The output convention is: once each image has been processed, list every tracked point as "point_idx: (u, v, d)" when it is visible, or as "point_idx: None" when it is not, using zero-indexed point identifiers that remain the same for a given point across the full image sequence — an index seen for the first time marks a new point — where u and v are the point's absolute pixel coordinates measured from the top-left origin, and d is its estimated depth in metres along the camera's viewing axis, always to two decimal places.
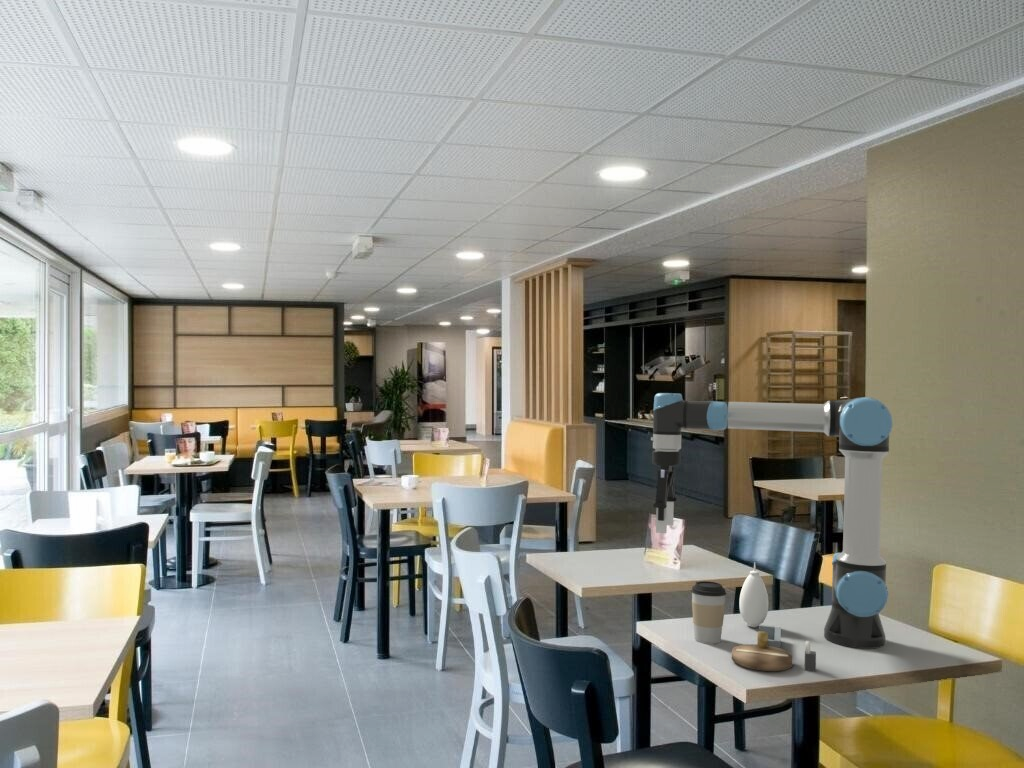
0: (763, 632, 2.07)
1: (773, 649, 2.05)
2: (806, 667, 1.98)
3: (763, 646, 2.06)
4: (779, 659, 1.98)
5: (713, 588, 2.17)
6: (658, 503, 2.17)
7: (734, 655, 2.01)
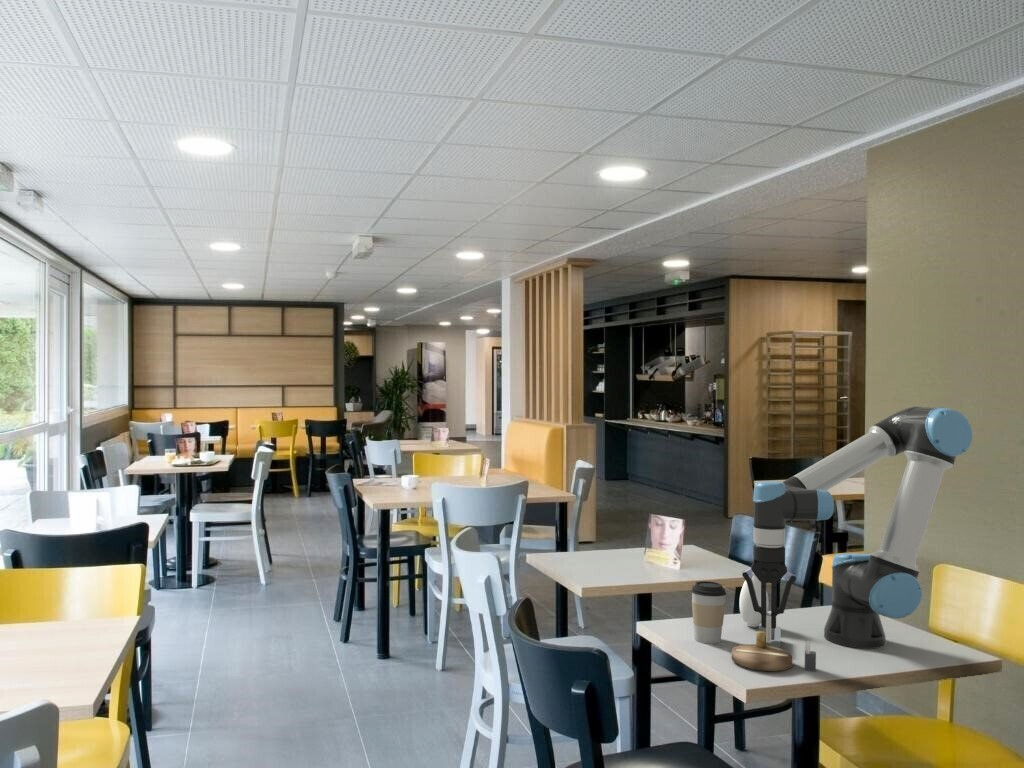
0: (762, 632, 2.07)
1: (772, 649, 2.05)
2: (806, 667, 1.98)
3: (762, 646, 2.06)
4: (780, 658, 1.98)
5: (713, 588, 2.17)
6: None
7: (735, 656, 2.00)
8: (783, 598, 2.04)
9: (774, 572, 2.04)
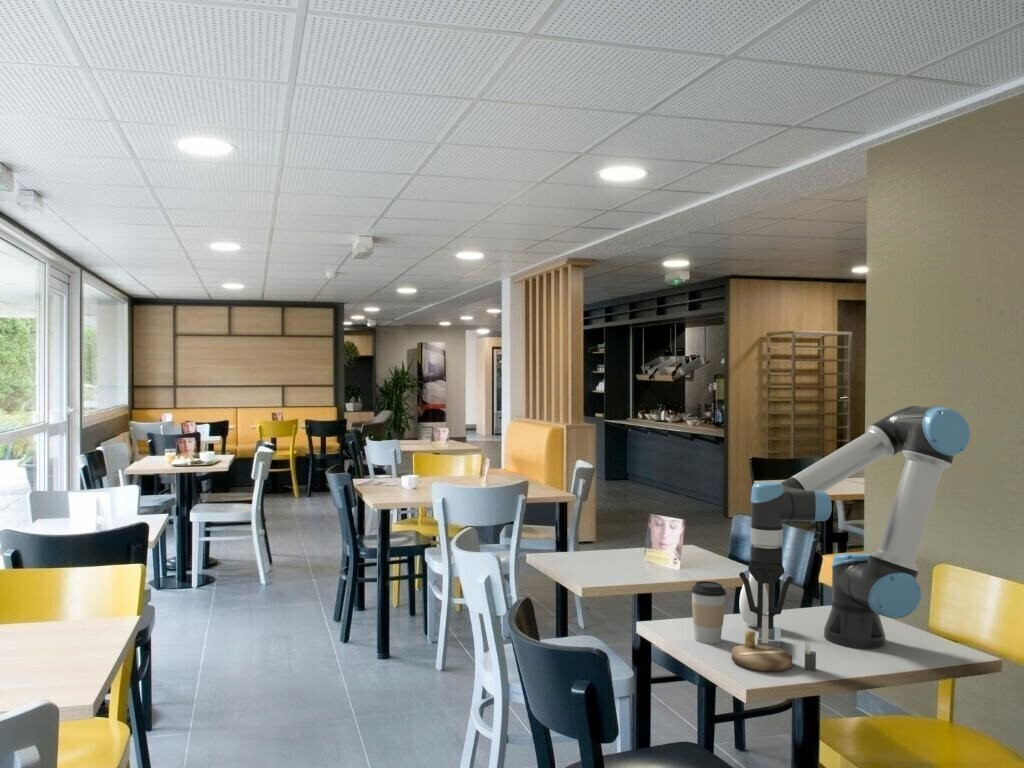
0: (750, 631, 2.07)
1: (762, 647, 2.06)
2: (806, 667, 1.98)
3: (753, 645, 2.06)
4: (783, 656, 2.00)
5: (713, 588, 2.17)
6: None
7: (745, 660, 1.97)
8: (780, 599, 2.04)
9: (771, 573, 2.04)
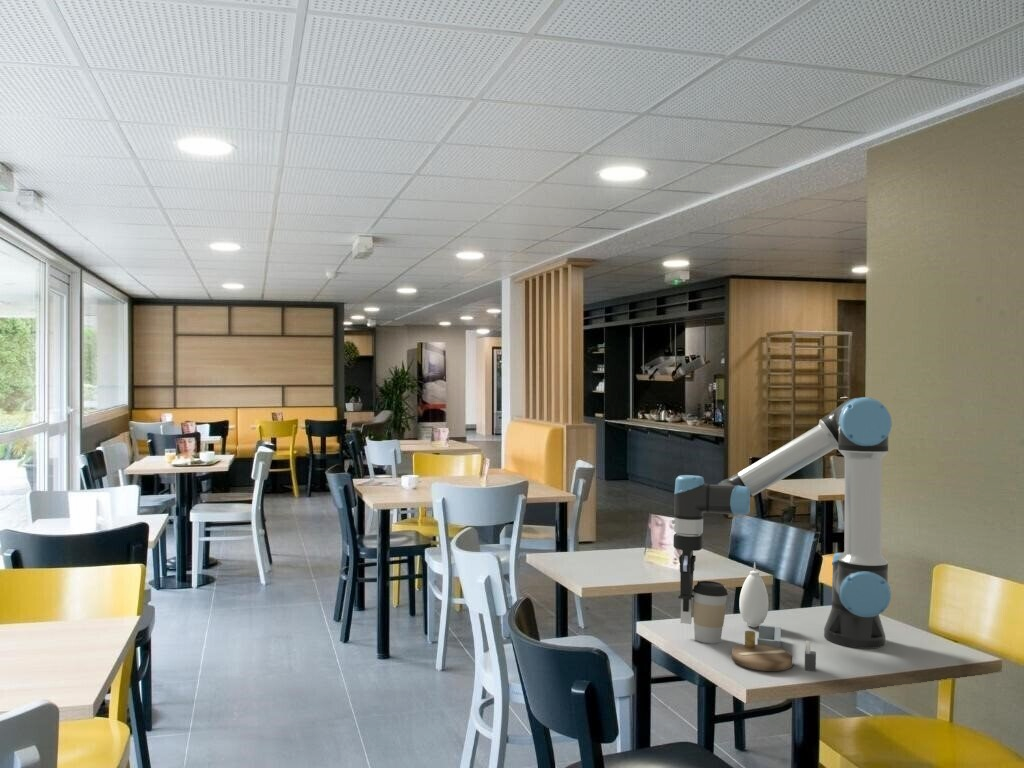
0: (750, 631, 2.07)
1: (762, 647, 2.06)
2: (806, 667, 1.98)
3: (753, 645, 2.06)
4: (783, 656, 2.00)
5: (715, 588, 2.17)
6: (683, 595, 2.19)
7: (745, 660, 1.97)
8: (692, 579, 2.25)
9: (695, 557, 2.23)
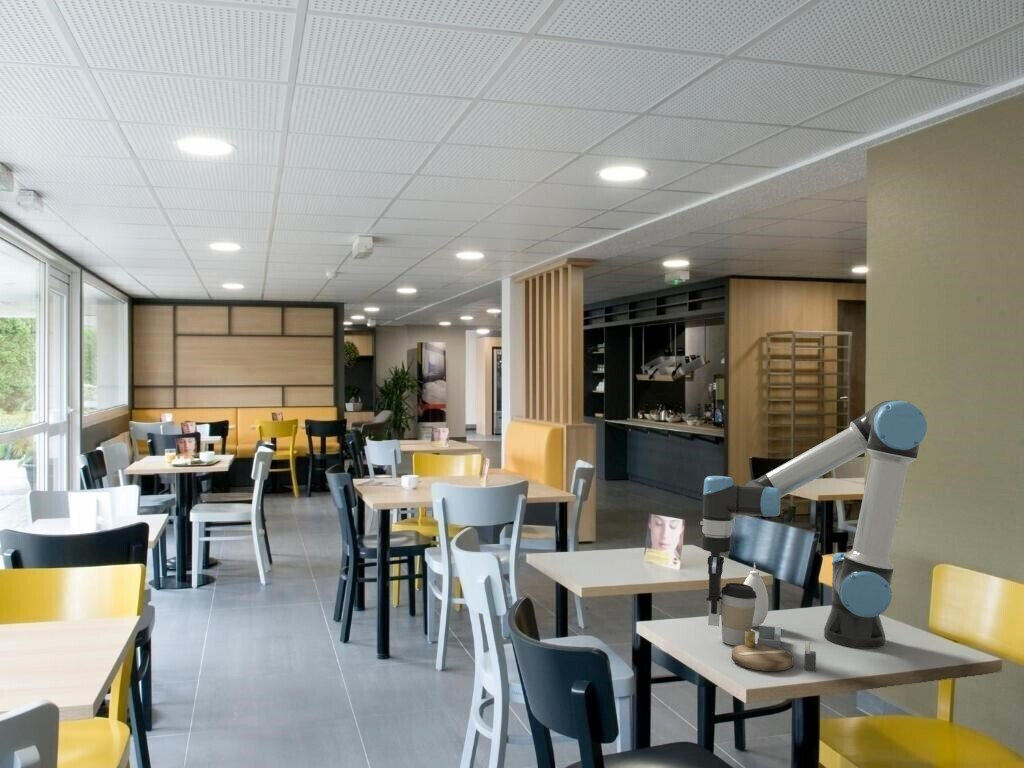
0: (750, 631, 2.07)
1: (762, 647, 2.06)
2: (806, 667, 1.98)
3: (753, 645, 2.06)
4: (783, 656, 2.00)
5: (745, 590, 2.15)
6: (711, 597, 2.17)
7: (745, 660, 1.97)
8: (720, 580, 2.23)
9: (723, 559, 2.21)
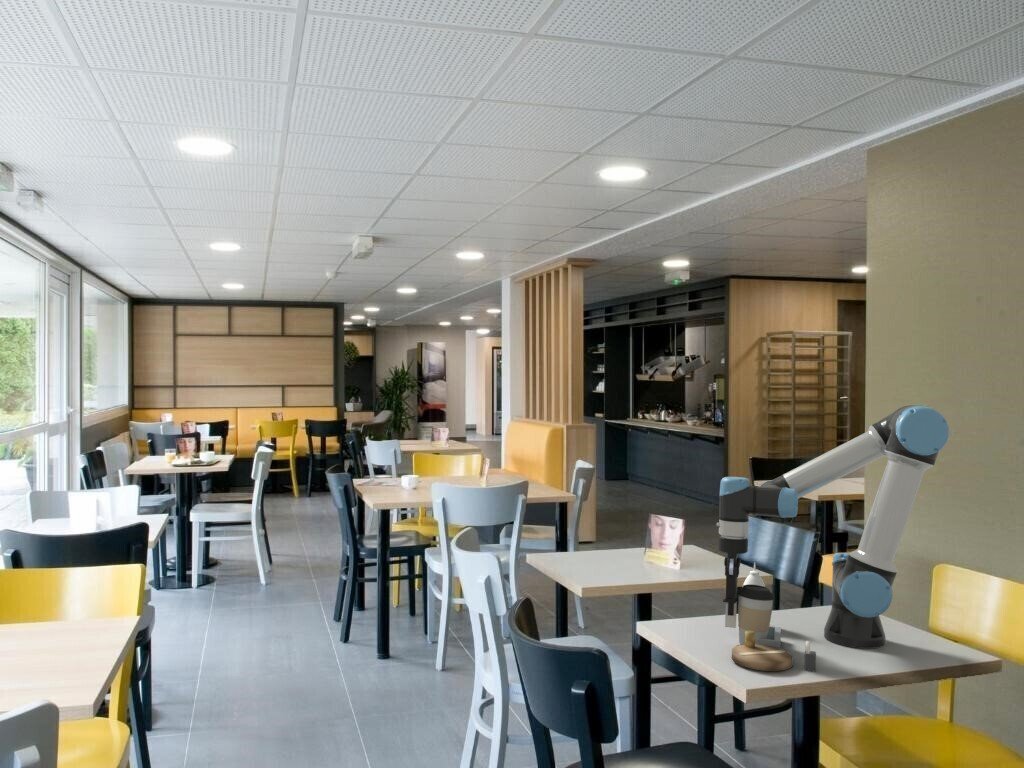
0: (750, 631, 2.07)
1: (762, 647, 2.06)
2: (806, 667, 1.98)
3: (753, 645, 2.06)
4: (783, 656, 2.00)
5: (762, 592, 2.14)
6: (728, 598, 2.15)
7: (745, 660, 1.97)
8: None
9: (740, 560, 2.19)
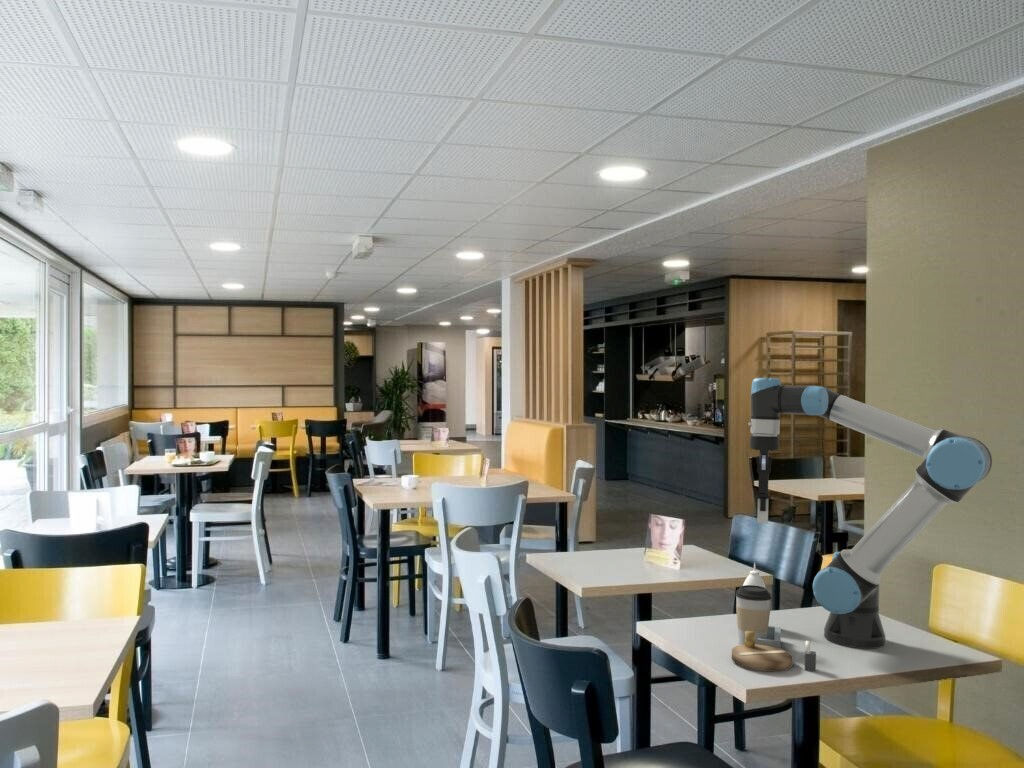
0: (750, 631, 2.07)
1: (762, 647, 2.06)
2: (806, 667, 1.98)
3: (753, 645, 2.06)
4: (783, 656, 2.00)
5: (759, 592, 2.14)
6: (761, 494, 2.22)
7: (745, 660, 1.97)
8: None
9: None
